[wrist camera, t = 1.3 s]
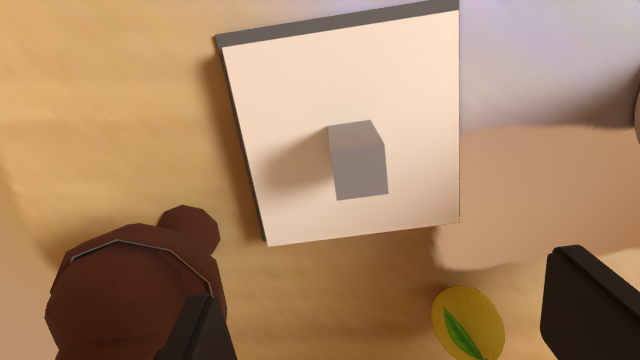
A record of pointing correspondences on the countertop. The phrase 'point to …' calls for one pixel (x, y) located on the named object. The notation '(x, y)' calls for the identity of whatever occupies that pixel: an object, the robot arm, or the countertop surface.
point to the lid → (352, 127)
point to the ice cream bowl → (132, 286)
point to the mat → (437, 3)
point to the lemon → (467, 324)
